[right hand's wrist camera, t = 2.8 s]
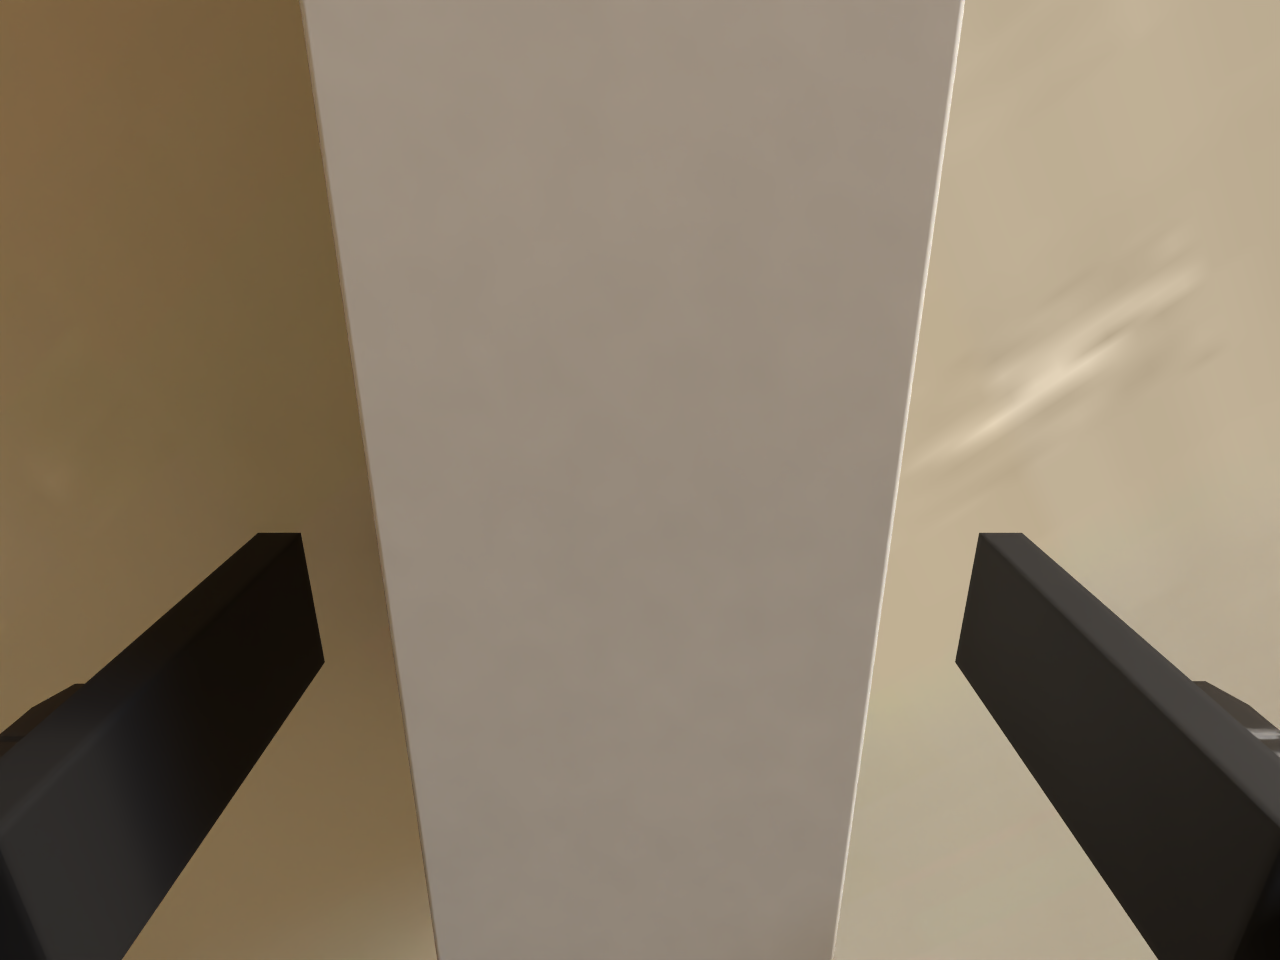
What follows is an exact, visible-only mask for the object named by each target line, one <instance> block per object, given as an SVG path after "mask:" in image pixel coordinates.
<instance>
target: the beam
mask: <svg viewBox="0 0 1280 960" xmlns="http://www.w3.org/2000/svg"><path fill="white" fill-rule="evenodd" d="M299 1H300V8H301V15H302V22H303V29H304V36H305V43H306V50H307V57H308V64H309V71H310V78H311V85H312V92H313V99H314V106H315V112H316V119H317V126H318V133H319V140H320V147H321V154H322V161H323V168H324V175H325V182H326V189H327V196H328V203H329V210H330V217H331V224H332V231H333V238H334V244H335V251H336V258H337V265H338V272H339V279H340V286H341V293H342V300H343V307H344V314H345V321H346V328H347V335H348V342H349V349H350V356H351V363H352V370H353V376H354V383H355V390H356V397H357V404H358V411H359V418H360V425H361V432H362V439H363V446H364V453H365V460H366V467H367V474H368V481H369V488H370V495H371V501H372V508H373V515H374V522H375V529H376V536H377V543H378V550H379V557H380V564H381V571H382V578H383V585H384V592H385V599H386V606H387V613H388V620H389V627H390V633H391V640H392V647H393V654H394V661H395V668H396V675H397V682H398V689H399V696H400V703H401V710H402V717H403V724H404V731H405V738H406V745H407V752H408V759H409V765H410V772H411V779H412V786H413V793H414V800H415V807H416V814H417V821H418V828H419V835H420V842H421V849H422V856H423V863H424V870H425V877H426V884H427V891H428V897H429V904H430V911H431V918H432V925H433V932H434V939H435V946H436V953H437V960H833V959H834V951H835V944H836V937H837V930H838V922H839V915H840V908H841V900H842V893H843V886H844V879H845V871H846V864H847V857H848V849H849V842H850V835H851V828H852V820H853V813H854V806H855V799H856V791H857V784H858V777H859V769H860V762H861V755H862V748H863V740H864V733H865V726H866V718H867V711H868V704H869V697H870V689H871V682H872V675H873V667H874V660H875V653H876V646H877V638H878V631H879V624H880V616H881V609H882V602H883V595H884V587H885V580H886V573H887V565H888V558H889V551H890V544H891V536H892V529H893V522H894V514H895V507H896V500H897V493H898V485H899V478H900V471H901V463H902V456H903V449H904V442H905V434H906V427H907V420H908V412H909V405H910V398H911V391H912V383H913V376H914V369H915V361H916V354H917V347H918V340H919V332H920V325H921V318H922V310H923V303H924V296H925V289H926V281H927V274H928V267H929V259H930V252H931V245H932V238H933V230H934V223H935V216H936V208H937V201H938V194H939V187H940V179H941V172H942V165H943V157H944V150H945V143H946V136H947V128H948V121H949V114H950V106H951V99H952V92H953V85H954V77H955V70H956V63H957V55H958V48H959V41H960V34H961V26H962V19H963V12H964V4H965V0H299Z"/></svg>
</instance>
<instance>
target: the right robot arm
mask: <svg viewBox="0 0 1280 960" xmlns="http://www.w3.org/2000/svg"><path fill="white" fill-rule="evenodd" d="M324 662H325V661H324V656H323V650H322V645H321V639H320V634H319V629H318V623H317V618H316V613H315V607H314V602H313V596H312V591H311V586H310V580H309V575H308V570H307V564H306V559H305V553H304V548H303V543H302V537H301V533H257V534H256V535H255V536H254V537H253V538H252V539H251V540H249V541H248V542H247V543H246V544H245V545H244V546H243V547H241V548H240V549H239V550H238V551H237V552H236V553H235V554H233V555H232V556H231V557H230V558H229V559H228V560H226V561H225V562H224V563H223V564H222V565H221V566H220V567H218V568H217V569H216V570H215V571H214V572H213V573H212V574H210V575H209V576H208V577H207V578H206V579H205V580H204V581H202V582H201V583H200V584H199V585H198V586H197V587H196V588H194V589H193V590H192V591H191V592H190V593H189V594H187V595H186V596H185V597H184V598H183V599H182V600H181V601H179V602H178V603H177V604H176V605H175V606H174V607H173V608H171V609H170V610H169V611H168V612H167V613H166V614H165V615H163V616H162V617H161V618H160V619H159V620H158V621H157V622H155V623H154V624H153V625H152V626H151V627H150V628H148V629H147V630H146V631H145V632H144V633H143V634H142V635H140V636H139V637H138V638H137V639H136V640H135V641H134V642H132V643H131V644H130V645H129V646H128V647H127V648H126V649H124V650H123V651H122V652H121V653H120V654H119V655H118V656H116V657H115V658H114V659H113V660H112V661H111V662H109V663H108V664H107V665H106V666H105V667H104V668H103V669H101V670H100V671H99V672H98V673H97V674H96V675H95V676H93V677H92V678H91V679H90V680H89V681H88V682H87V683H85V684H74V685H72V686H70V687H69V688H67V689H65V690H63V691H61V692H60V693H58V694H56V695H54V696H52V697H50V698H49V699H47V700H45V701H43V702H41V703H40V704H38V705H36V706H34V707H32V708H31V709H30V710H29V711H27V712H26V713H25V714H24V715H23V716H21V717H20V718H19V719H18V720H17V721H15V722H14V723H13V724H12V725H11V726H9V727H8V728H7V729H6V730H5V731H3V732H2V733H1V734H0V960H122V958H123V957H124V955H125V954H126V953H127V951H128V950H129V948H130V947H131V945H132V944H133V942H134V941H135V939H136V938H137V936H138V935H139V933H140V932H141V931H142V929H143V928H144V926H145V925H146V923H147V922H148V920H149V919H150V917H151V916H152V914H153V913H154V911H155V910H156V909H157V907H158V906H159V904H160V903H161V901H162V900H163V898H164V897H165V895H166V894H167V892H168V891H169V890H170V888H171V887H172V885H173V884H174V882H175V881H176V879H177V878H178V876H179V875H180V873H181V872H182V870H183V869H184V868H185V866H186V865H187V863H188V862H189V860H190V859H191V857H192V856H193V854H194V853H195V851H196V850H197V848H198V847H199V846H200V844H201V843H202V841H203V840H204V838H205V837H206V835H207V834H208V832H209V831H210V829H211V828H212V826H213V825H214V824H215V822H216V821H217V819H218V818H219V816H220V815H221V813H222V812H223V810H224V809H225V807H226V806H227V805H228V803H229V802H230V800H231V799H232V797H233V796H234V794H235V793H236V791H237V790H238V788H239V787H240V785H241V784H242V783H243V781H244V780H245V778H246V777H247V775H248V774H249V772H250V771H251V769H252V768H253V766H254V765H255V763H256V762H257V761H258V759H259V758H260V756H261V755H262V753H263V752H264V750H265V749H266V747H267V746H268V744H269V743H270V741H271V740H272V739H273V737H274V736H275V734H276V733H277V731H278V730H279V728H280V727H281V725H282V724H283V722H284V721H285V720H286V718H287V717H288V715H289V714H290V712H291V711H292V709H293V708H294V706H295V705H296V703H297V702H298V700H299V699H300V698H301V696H302V695H303V693H304V692H305V690H306V689H307V687H308V686H309V684H310V683H311V681H312V680H313V678H314V677H315V676H316V674H317V673H318V671H319V670H320V668H321V667H322V665H323V664H324ZM955 662H956V664H957V665H958V667H959V668H960V670H961V671H962V673H963V674H964V676H965V677H966V679H967V680H968V681H969V683H970V684H971V686H972V687H973V689H974V690H975V692H976V693H977V695H978V696H979V698H980V699H981V700H982V702H983V703H984V705H985V706H986V708H987V709H988V711H989V712H990V714H991V715H992V717H993V718H994V720H995V721H996V722H997V724H998V725H999V727H1000V728H1001V730H1002V731H1003V733H1004V734H1005V736H1006V737H1007V739H1008V740H1009V742H1010V743H1011V744H1012V746H1013V747H1014V749H1015V750H1016V752H1017V753H1018V755H1019V756H1020V758H1021V759H1022V761H1023V762H1024V764H1025V765H1026V766H1027V768H1028V769H1029V771H1030V772H1031V774H1032V775H1033V777H1034V778H1035V780H1036V781H1037V783H1038V784H1039V785H1040V787H1041V788H1042V790H1043V791H1044V793H1045V794H1046V796H1047V797H1048V799H1049V800H1050V802H1051V803H1052V805H1053V806H1054V807H1055V809H1056V810H1057V812H1058V813H1059V815H1060V816H1061V818H1062V819H1063V821H1064V822H1065V824H1066V825H1067V827H1068V828H1069V829H1070V831H1071V832H1072V834H1073V835H1074V837H1075V838H1076V840H1077V841H1078V843H1079V844H1080V846H1081V847H1082V848H1083V850H1084V851H1085V853H1086V854H1087V856H1088V857H1089V859H1090V860H1091V862H1092V863H1093V865H1094V866H1095V868H1096V869H1097V870H1098V872H1099V873H1100V875H1101V876H1102V878H1103V879H1104V881H1105V882H1106V884H1107V885H1108V887H1109V888H1110V890H1111V891H1112V892H1113V894H1114V895H1115V897H1116V898H1117V900H1118V901H1119V903H1120V904H1121V906H1122V907H1123V909H1124V910H1125V912H1126V913H1127V914H1128V916H1129V917H1130V919H1131V920H1132V922H1133V923H1134V925H1135V926H1136V928H1137V929H1138V931H1139V932H1140V933H1141V935H1142V936H1143V938H1144V939H1145V941H1146V942H1147V944H1148V945H1149V947H1150V948H1151V950H1152V951H1153V953H1154V954H1155V955H1156V957H1157V958H1158V960H1280V730H1278V729H1277V728H1276V727H1275V726H1273V725H1272V724H1271V723H1270V722H1269V721H1267V720H1266V719H1265V718H1264V717H1263V716H1261V715H1260V714H1259V713H1258V712H1257V711H1255V710H1254V709H1253V708H1252V707H1251V706H1249V705H1248V704H1246V703H1244V702H1242V701H1240V700H1239V699H1237V698H1235V697H1233V696H1231V695H1229V694H1228V693H1226V692H1224V691H1222V690H1220V689H1219V688H1217V687H1215V686H1213V685H1211V684H1209V683H1208V682H1206V681H1191V680H1190V679H1189V678H1188V677H1187V676H1185V675H1184V674H1183V673H1182V672H1181V671H1180V670H1179V669H1177V668H1176V667H1175V666H1174V665H1173V664H1172V663H1170V662H1169V661H1168V660H1167V659H1166V658H1165V657H1164V656H1162V655H1161V654H1160V653H1159V652H1158V651H1157V650H1156V649H1154V648H1153V647H1152V646H1151V645H1150V644H1149V643H1148V642H1146V641H1145V640H1144V639H1143V638H1142V637H1141V636H1140V635H1138V634H1137V633H1136V632H1135V631H1134V630H1133V629H1131V628H1130V627H1129V626H1128V625H1127V624H1126V623H1125V622H1123V621H1122V620H1121V619H1120V618H1119V617H1118V616H1117V615H1115V614H1114V613H1113V612H1112V611H1111V610H1110V609H1109V608H1107V607H1106V606H1105V605H1104V604H1103V603H1102V602H1101V601H1099V600H1098V599H1097V598H1096V597H1095V596H1094V595H1092V594H1091V593H1090V592H1089V591H1088V590H1087V589H1086V588H1084V587H1083V586H1082V585H1081V584H1080V583H1079V582H1078V581H1076V580H1075V579H1074V578H1073V577H1072V576H1071V575H1070V574H1068V573H1067V572H1066V571H1065V570H1064V569H1063V568H1062V567H1060V566H1059V565H1058V564H1057V563H1056V562H1055V561H1053V560H1052V559H1051V558H1050V557H1049V556H1048V555H1047V554H1045V553H1044V552H1043V551H1042V550H1041V549H1040V548H1039V547H1037V546H1036V545H1035V544H1034V543H1033V542H1032V541H1031V540H1029V539H1028V538H1027V537H1026V536H1025V535H1024V534H1023V533H979V537H978V543H977V548H976V553H975V559H974V564H973V569H972V575H971V580H970V586H969V591H968V596H967V602H966V607H965V612H964V618H963V623H962V629H961V634H960V639H959V645H958V650H957V655H956V661H955Z"/></svg>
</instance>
